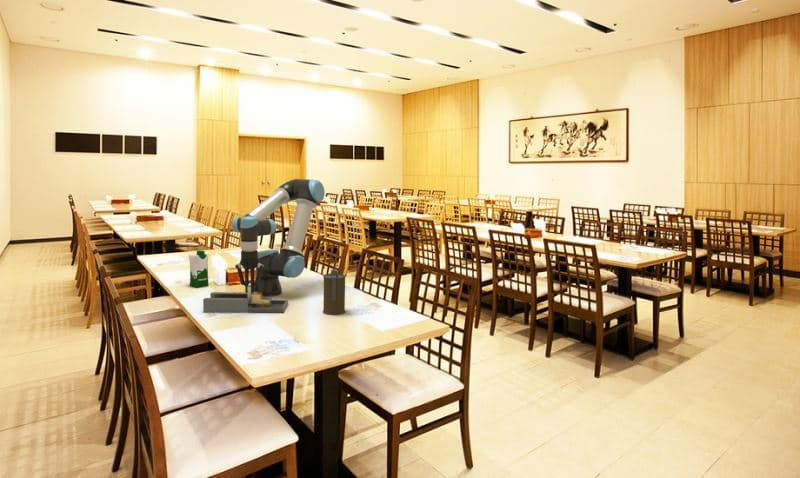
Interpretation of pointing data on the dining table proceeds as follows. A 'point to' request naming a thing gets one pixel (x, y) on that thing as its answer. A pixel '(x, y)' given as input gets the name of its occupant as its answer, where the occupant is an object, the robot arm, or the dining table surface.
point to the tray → (276, 307)
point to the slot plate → (227, 302)
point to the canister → (334, 293)
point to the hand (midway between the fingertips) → (249, 299)
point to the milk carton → (198, 269)
